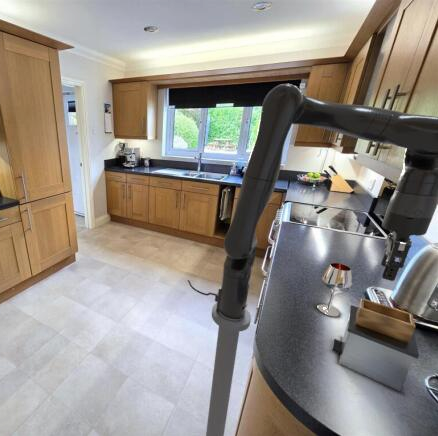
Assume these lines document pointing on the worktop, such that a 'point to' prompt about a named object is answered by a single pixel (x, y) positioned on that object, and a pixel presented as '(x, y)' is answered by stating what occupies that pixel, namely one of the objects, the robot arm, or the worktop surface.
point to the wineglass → (335, 284)
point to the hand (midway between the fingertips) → (386, 272)
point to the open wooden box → (385, 320)
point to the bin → (375, 353)
